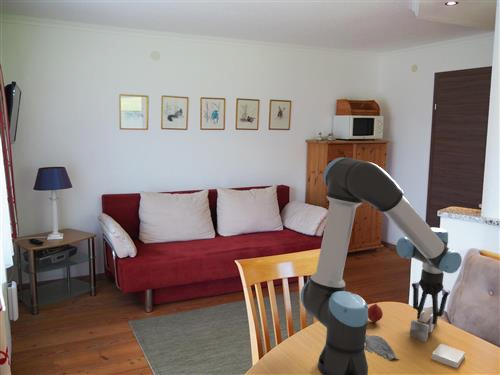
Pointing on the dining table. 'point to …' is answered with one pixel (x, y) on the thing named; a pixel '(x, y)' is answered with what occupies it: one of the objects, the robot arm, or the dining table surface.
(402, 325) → the dining table surface
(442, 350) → the tile
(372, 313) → the onion
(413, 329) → the scraper
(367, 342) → the stone slab
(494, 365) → the dining table surface
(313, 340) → the dining table surface
